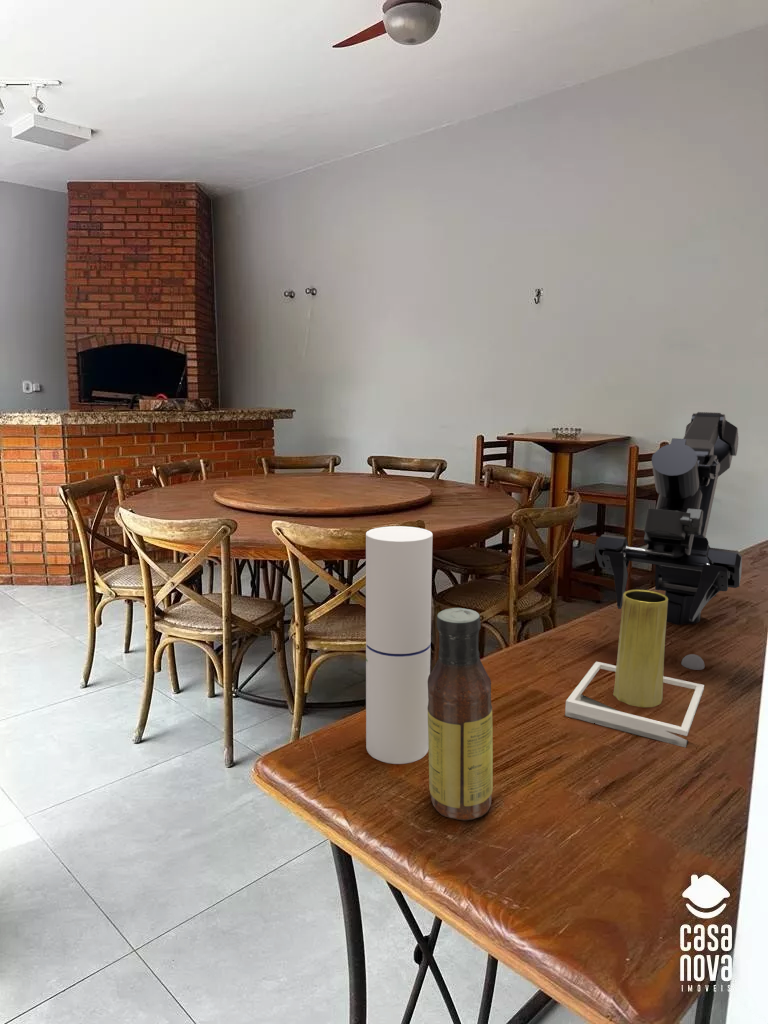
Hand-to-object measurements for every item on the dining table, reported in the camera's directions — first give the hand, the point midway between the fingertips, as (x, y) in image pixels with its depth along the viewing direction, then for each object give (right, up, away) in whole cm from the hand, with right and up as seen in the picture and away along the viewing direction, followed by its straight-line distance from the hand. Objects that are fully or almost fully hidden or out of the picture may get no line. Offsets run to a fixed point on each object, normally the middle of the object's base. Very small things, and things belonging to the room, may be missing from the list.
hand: (654, 613), depth 92 cm
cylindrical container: (-35, -13, -14) cm, 40 cm away
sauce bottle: (-29, -15, -24) cm, 41 cm away
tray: (-4, -11, -4) cm, 13 cm away
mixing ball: (+7, -8, +5) cm, 12 cm away
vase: (-4, -11, -4) cm, 12 cm away
